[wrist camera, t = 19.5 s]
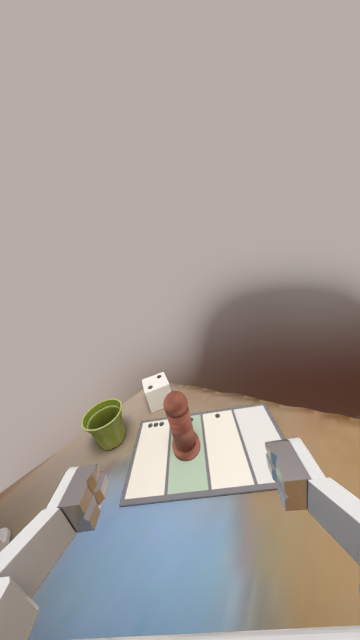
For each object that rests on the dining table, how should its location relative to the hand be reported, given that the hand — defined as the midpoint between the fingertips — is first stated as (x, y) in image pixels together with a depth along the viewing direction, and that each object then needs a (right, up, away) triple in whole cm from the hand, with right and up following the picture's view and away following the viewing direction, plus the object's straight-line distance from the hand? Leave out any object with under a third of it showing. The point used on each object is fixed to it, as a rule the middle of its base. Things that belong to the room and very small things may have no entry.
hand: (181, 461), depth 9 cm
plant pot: (-17, -24, +38) cm, 48 cm away
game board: (+5, -21, +31) cm, 38 cm away
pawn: (+1, -21, +31) cm, 38 cm away
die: (-6, -18, +47) cm, 51 cm away
